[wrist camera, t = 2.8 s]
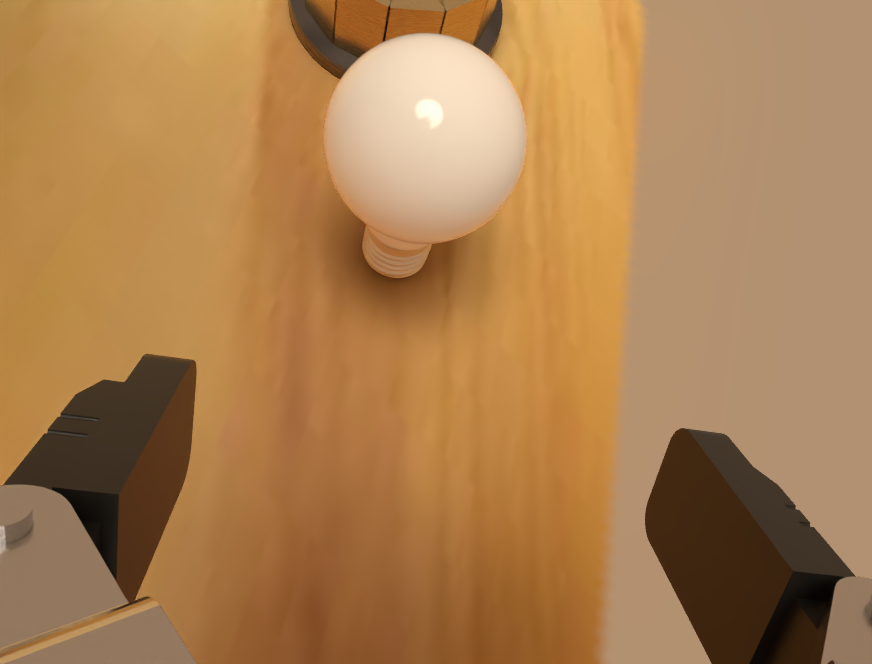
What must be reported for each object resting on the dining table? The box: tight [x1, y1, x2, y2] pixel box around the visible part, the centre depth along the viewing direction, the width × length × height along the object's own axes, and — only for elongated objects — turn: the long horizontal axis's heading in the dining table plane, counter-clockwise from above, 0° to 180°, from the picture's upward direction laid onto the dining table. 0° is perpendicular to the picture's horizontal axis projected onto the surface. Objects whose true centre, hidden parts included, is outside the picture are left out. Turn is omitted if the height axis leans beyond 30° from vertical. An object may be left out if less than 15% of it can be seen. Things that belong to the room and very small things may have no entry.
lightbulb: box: [323, 33, 527, 278], centre depth 25 cm, size 6×6×11 cm
